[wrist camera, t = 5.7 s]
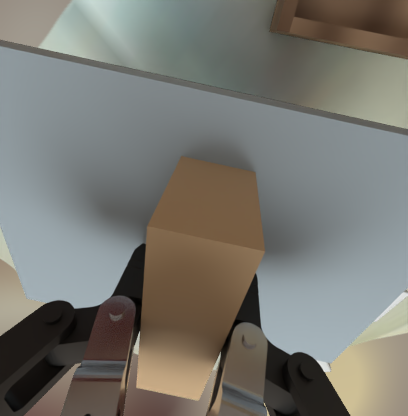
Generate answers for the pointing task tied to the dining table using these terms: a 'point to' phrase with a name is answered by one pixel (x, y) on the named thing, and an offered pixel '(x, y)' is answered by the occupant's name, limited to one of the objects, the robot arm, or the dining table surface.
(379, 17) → the box
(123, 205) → the lid
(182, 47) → the dining table surface
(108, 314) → the robot arm
